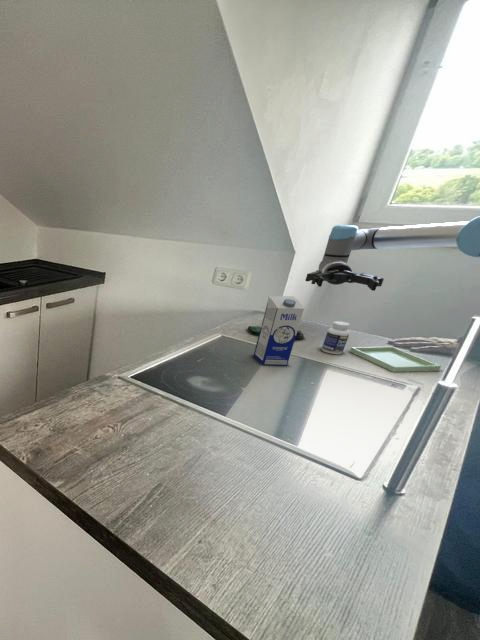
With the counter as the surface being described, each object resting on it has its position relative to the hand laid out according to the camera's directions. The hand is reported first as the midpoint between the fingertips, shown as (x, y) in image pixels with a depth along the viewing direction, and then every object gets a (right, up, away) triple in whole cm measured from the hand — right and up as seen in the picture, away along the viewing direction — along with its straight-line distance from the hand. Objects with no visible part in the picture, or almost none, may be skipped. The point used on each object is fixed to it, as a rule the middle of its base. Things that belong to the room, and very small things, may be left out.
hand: (347, 284), depth 126 cm
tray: (+7, -25, -7) cm, 27 cm away
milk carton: (-28, -25, -4) cm, 38 cm away
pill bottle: (-5, -22, +1) cm, 22 cm away
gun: (-13, -16, +15) cm, 25 cm away
